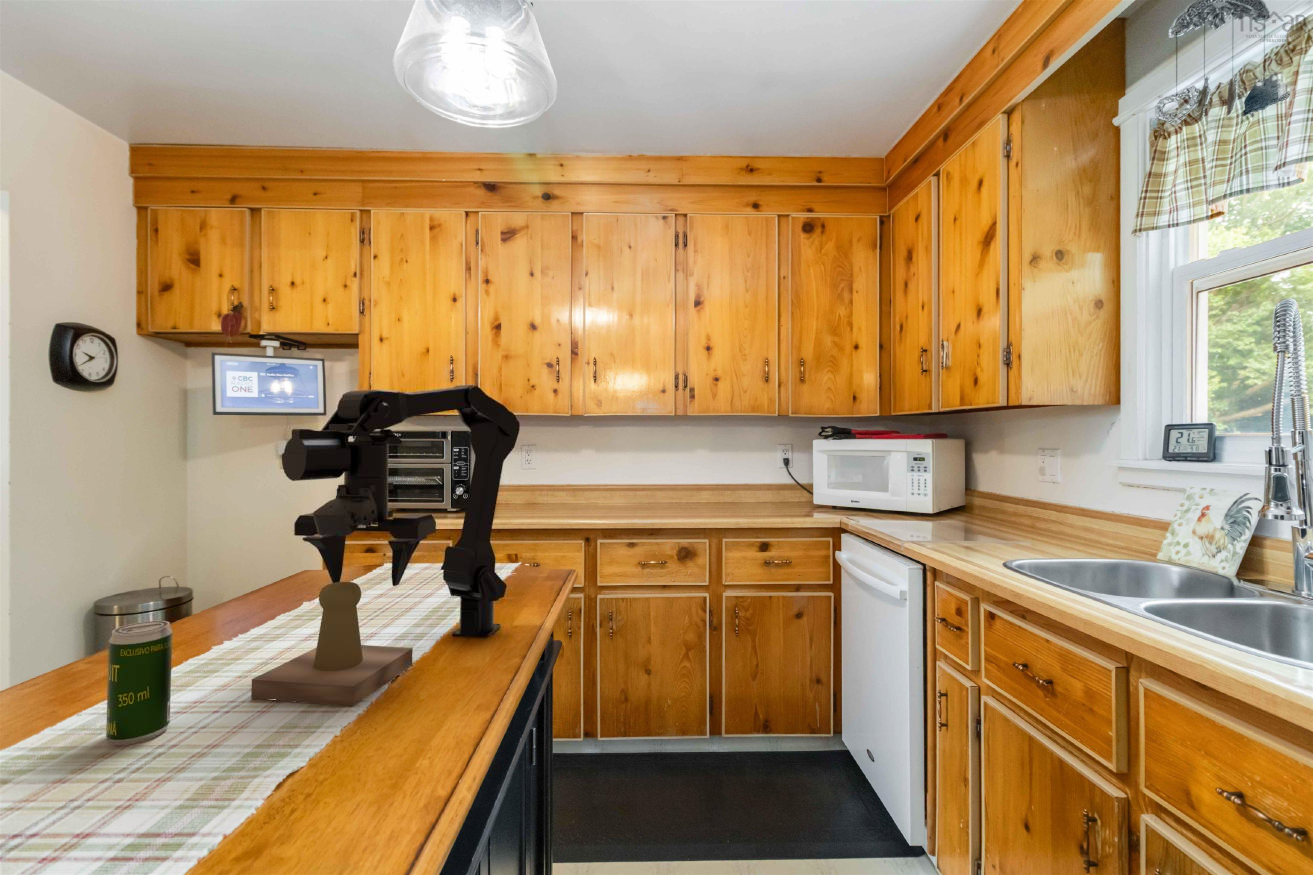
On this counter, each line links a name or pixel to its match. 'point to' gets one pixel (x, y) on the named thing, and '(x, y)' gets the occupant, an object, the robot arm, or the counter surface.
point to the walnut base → (332, 677)
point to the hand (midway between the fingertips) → (365, 584)
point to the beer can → (139, 682)
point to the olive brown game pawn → (339, 627)
